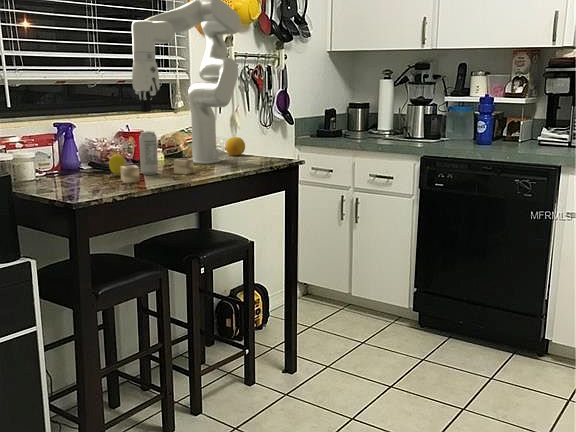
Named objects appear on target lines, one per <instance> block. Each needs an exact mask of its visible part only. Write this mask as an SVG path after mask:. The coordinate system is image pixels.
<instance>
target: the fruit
mask: <svg viewBox="0 0 576 432" xmlns="http://www.w3.org/2000/svg"><path fill="white" fill-rule="evenodd" d="M224 146H225V147H224V148H225V150H226V152H227V154H228V155H230V156H233V157H234V156H235V157H236V156H237V157H238V156H241V155H243V154H244V153H245V149H246V143H245V141H244V139H243V138H241V137H238V136H232V137H229V138H228V139H227V140H226V142H225V145H224Z"/></svg>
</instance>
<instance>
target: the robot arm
mask: <svg viewBox="0 0 576 432" xmlns="http://www.w3.org/2000/svg"><path fill="white" fill-rule="evenodd" d="M198 25H200V26H201V29H202V31H203V34H204V38H205V42H206V47H205V51H204V53H203V54H204V55H203V57H202V59H201V63H200V66H199V71H198V74H199V77H200V79H201V80H203V81H198V82H197V81H196V82H194V83H193V84H191V85H190V86H189V88H188V91H187V97H188V102H189V106H190V107H189V108H190V114H191V115H190V117H191V144H192V145H191V151H192V152H191V155H192V157H190V158H189V159H193V164H195V165H196V164H197V165H198V164H199V165H200V164H201V165H203V164H204V165H205V164H206V165H209V164H210V165H211V164H217V163H220V162H221V159H220V156H224V155H225V154H226V152H225V150H219V149H217V141H216V140H217V135H216V134H217V132H216V129H217V128H216V127H217V126H216V125H217V124H216V122H217V121H216V120H217V119H216V116H215V113H214V110H213V109H212V108H225V107H227V106H228V105H229V104H230V102H231V99H232V98H233V95H234V94H233V93H234V90H235V88H236V84H237V81H238V77H239V65H238V63H237V62H236V60H235V59H233V58H231V57H227V54H228V47H227V44H226V42H225V40H224V37H222V36H223V35H235V34H238V32H240V30H241V29H242V19H241V16H240V15H239V13H238V12H237V11H236V10H234V9H233V8H232V7H230V6H229V4H227V3H226V2H224V1H223V0H191V1H189V2H187V3H185V4H184V5H181V6H179V7H176V8H175V9H174V8H173V9H171V10H169V11H168V10H167V11H165V12H163V13H159V14H155V15H154V16H150V17H148V18H146V19H144V20H143V19H142V20H141V19H137V20H134V21H132V23H131V37H132V40H131V41H132V61H133V62H132V74H131V75H132V78H131V79H132V80H131V81H132V89H133V90H134V94H136V95H138V96H139V100H140V112H144V113H146V112H147V113H151V111H152V100H153V96H156V95H157V92H158V91H160V75H159V67H158V64H157V62H156V44H157V45H158V44H159V45H162V44H169V43H171V42H172V41H173V40H174V39H175V36H176V34H179V33H184V32H187V31H189V30H191V29H193V28H195V27H196V26H198Z"/></svg>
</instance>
